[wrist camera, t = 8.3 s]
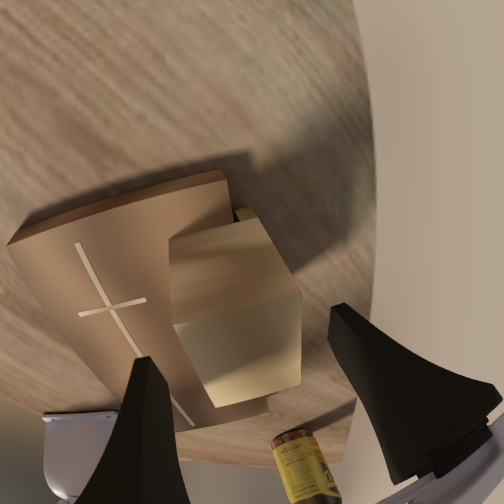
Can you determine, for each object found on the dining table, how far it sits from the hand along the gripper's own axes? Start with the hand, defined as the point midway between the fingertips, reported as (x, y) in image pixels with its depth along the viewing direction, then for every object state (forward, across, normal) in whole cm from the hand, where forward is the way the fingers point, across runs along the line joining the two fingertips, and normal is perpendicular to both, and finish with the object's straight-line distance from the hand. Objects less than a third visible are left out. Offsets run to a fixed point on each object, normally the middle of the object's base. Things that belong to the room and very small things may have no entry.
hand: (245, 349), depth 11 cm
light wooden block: (+6, 0, 0) cm, 6 cm away
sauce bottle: (+6, -4, +32) cm, 33 cm away
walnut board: (+6, +4, +6) cm, 9 cm away
